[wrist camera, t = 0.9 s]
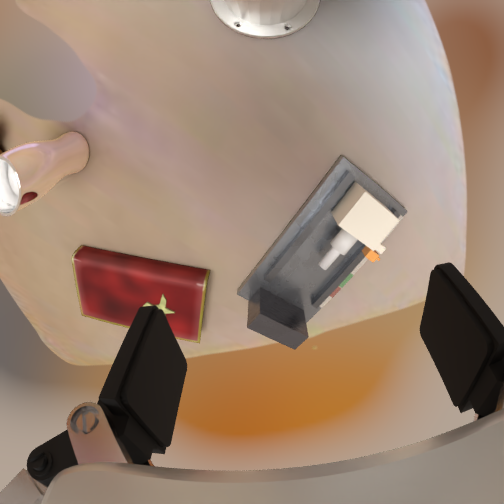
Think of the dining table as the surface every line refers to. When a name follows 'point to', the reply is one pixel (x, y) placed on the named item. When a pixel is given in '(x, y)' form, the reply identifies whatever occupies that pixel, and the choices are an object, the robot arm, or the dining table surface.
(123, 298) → the hardcover book
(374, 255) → the indicator
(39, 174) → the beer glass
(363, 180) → the gauge bed
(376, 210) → the cube with side peg
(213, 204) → the dining table surface
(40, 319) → the dining table surface
